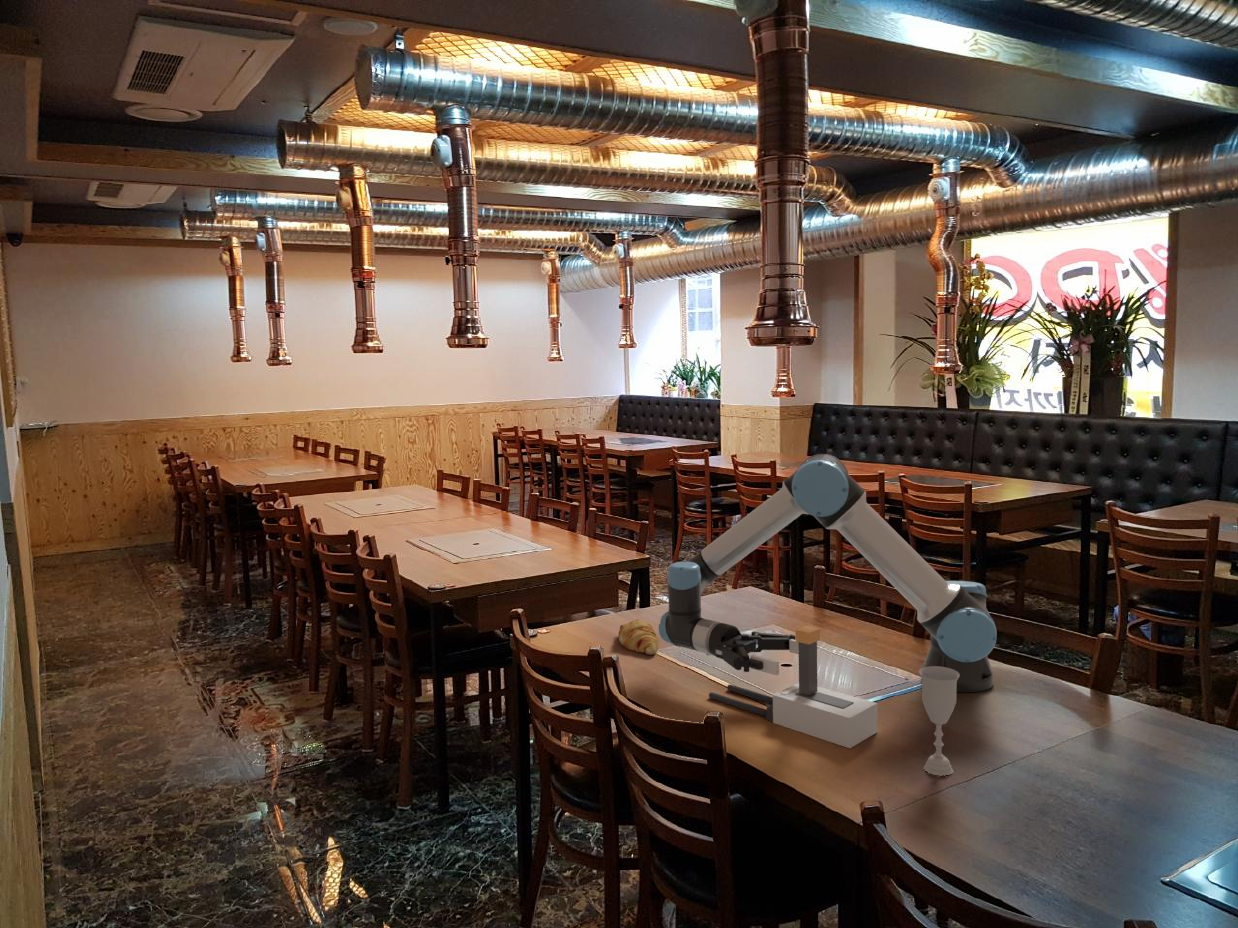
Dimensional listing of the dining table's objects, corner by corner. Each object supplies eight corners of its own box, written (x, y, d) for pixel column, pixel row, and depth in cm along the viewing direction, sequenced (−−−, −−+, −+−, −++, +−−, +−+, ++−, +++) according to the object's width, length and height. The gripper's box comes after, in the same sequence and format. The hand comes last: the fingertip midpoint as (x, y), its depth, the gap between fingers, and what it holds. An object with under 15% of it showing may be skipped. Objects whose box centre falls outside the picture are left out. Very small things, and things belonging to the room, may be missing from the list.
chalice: (962, 780, 153) (963, 681, 151) (921, 778, 154) (921, 679, 152) (954, 761, 160) (955, 666, 158) (915, 759, 161) (916, 665, 159)
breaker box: (773, 722, 180) (772, 693, 179) (801, 708, 187) (801, 680, 186) (850, 748, 167) (849, 717, 166) (877, 732, 174) (877, 702, 173)
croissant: (665, 668, 225) (677, 639, 225) (633, 656, 221) (645, 627, 221) (631, 644, 244) (642, 617, 245) (601, 632, 240) (613, 605, 241)
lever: (796, 692, 179) (795, 629, 177) (807, 687, 181) (806, 625, 180) (809, 696, 176) (808, 632, 175) (820, 691, 179) (819, 628, 178)
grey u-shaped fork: (705, 699, 194) (705, 687, 194) (731, 688, 200) (731, 677, 200) (774, 722, 180) (774, 709, 180) (799, 709, 186) (799, 697, 186)
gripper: (752, 642, 204) (831, 662, 189) (680, 669, 187) (760, 694, 172) (751, 610, 203) (830, 628, 188) (679, 635, 186) (760, 657, 171)
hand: (797, 659), depth 180 cm, fingers open, 13 cm apart
